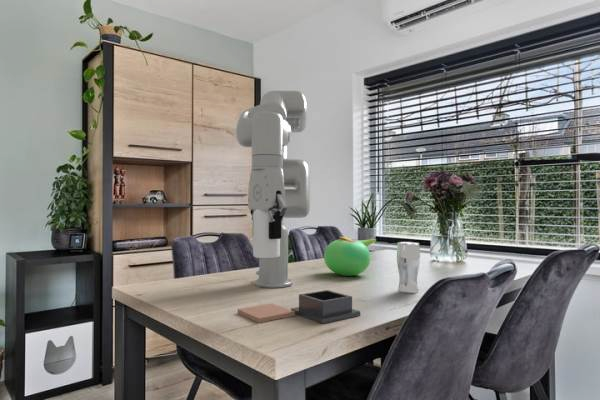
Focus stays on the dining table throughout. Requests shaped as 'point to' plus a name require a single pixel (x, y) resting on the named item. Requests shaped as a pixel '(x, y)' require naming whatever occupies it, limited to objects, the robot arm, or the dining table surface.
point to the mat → (265, 312)
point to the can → (264, 237)
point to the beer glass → (408, 266)
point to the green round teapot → (348, 256)
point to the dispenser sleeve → (325, 306)
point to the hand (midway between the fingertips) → (266, 237)
